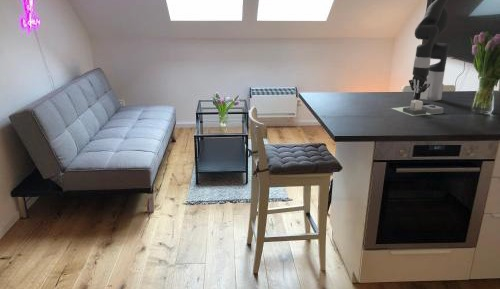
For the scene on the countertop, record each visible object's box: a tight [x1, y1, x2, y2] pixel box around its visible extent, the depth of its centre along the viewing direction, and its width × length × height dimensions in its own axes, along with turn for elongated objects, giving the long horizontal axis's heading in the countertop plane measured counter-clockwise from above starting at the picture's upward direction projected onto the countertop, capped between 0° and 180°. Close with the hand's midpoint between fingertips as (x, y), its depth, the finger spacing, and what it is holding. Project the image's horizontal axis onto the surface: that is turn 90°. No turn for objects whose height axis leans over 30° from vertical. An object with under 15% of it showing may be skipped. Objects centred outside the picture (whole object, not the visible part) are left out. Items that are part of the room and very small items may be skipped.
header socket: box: [402, 106, 426, 115], centre depth 212 cm, size 8×8×2 cm
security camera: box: [413, 88, 429, 101], centre depth 232 cm, size 6×7×10 cm
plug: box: [409, 99, 424, 110], centre depth 211 cm, size 5×4×6 cm
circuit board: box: [390, 104, 444, 117], centre depth 216 cm, size 20×17×4 cm
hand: (416, 99), depth 211 cm, fingers closed
